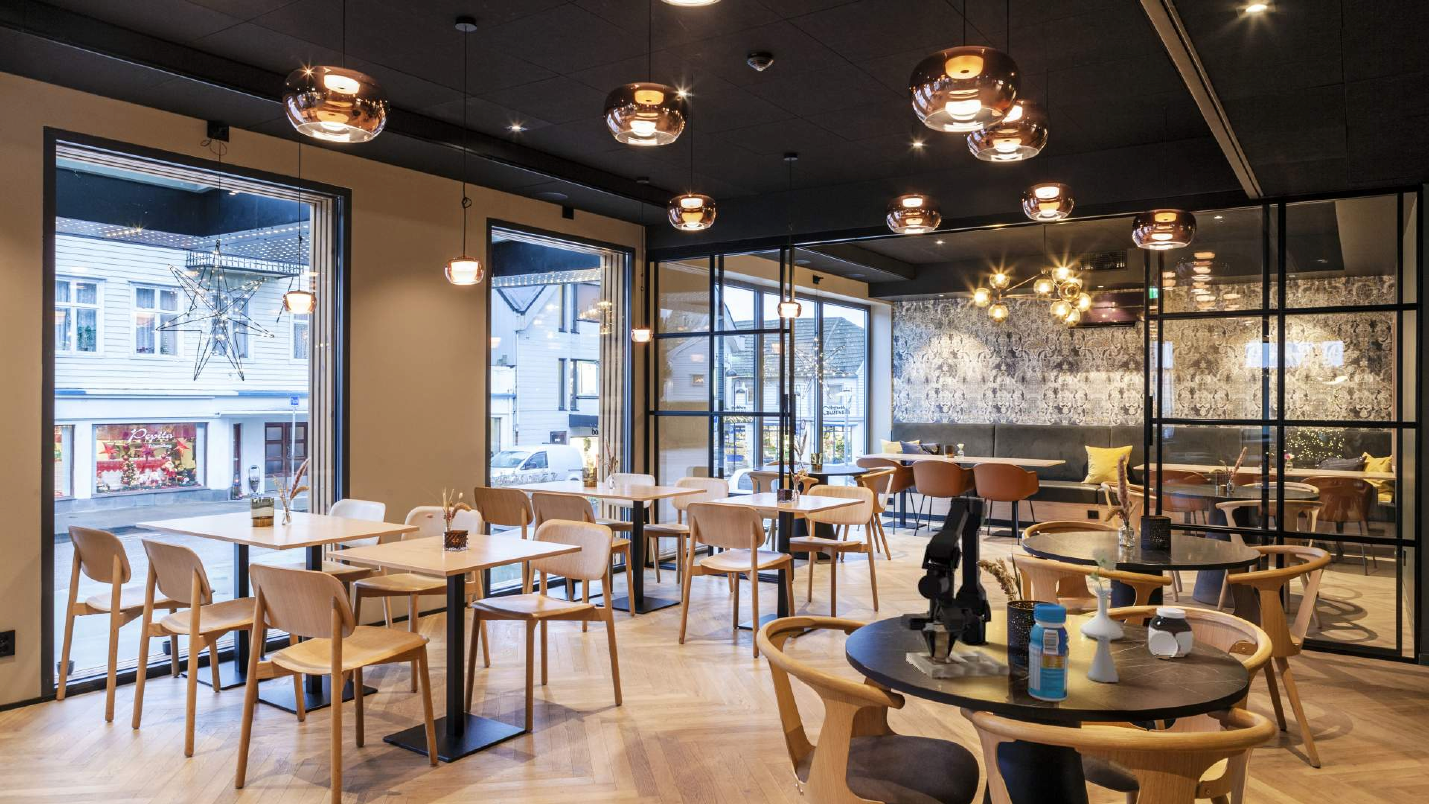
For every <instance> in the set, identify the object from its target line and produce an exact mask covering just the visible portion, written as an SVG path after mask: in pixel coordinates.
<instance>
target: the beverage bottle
mask: <svg viewBox="0 0 1429 804" xmlns="http://www.w3.org/2000/svg"><path fill="white" fill-rule="evenodd" d="M1033 619H1034V621H1035V623H1034V625H1033V626H1032V628H1031V630H1030V632H1029V638H1030V642H1029V644H1028V651H1029V653H1028V657H1029V658H1028V659H1029V660H1028V661H1029V662H1028V687H1027V688H1028V689H1027V692H1028V694H1029V695H1030V696H1031V697H1032V698H1035V699H1037V700H1041V701H1045V702H1062V700H1063V701H1066V699H1067V698H1068V676H1069V675H1068V673H1069V656H1070V648H1069V646H1068V643H1069V641H1070V637H1069V634H1068V631H1067V629H1066V627H1065V626H1064V625H1065V624H1066V621H1067V608H1066V607H1065V606H1064V605H1060V604H1056V603H1046V602H1045V603H1043V602H1042V603H1037V604H1035V605H1034V606H1033Z"/></svg>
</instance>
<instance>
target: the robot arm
mask: <svg viewBox="0 0 1429 804" xmlns="http://www.w3.org/2000/svg"><path fill="white" fill-rule="evenodd" d="M949 504H950V507H949V509H948V512H947V514H946V518H945V520H944V522H943V525H942V527H941V530H940V531H939V532H937V533H935V534H934V535H932V536H931V539H930V541H929V542H928V543H927V544H926V547H925V551H924V555H923V561H922V564H921V569H922V570H926V574H925V575H922V577H920V579H919V580H918V583H917V589H918V592H919V594H920V595H921V596H922V598H925V599H927V600H929V606H928V608H929V609H928V610H927V611H926V616H925V617H924V616H922V615H920V614H918V613H903V615H902V616H901V617H900V625H901V626H902V627H904V628H906V629H907V630H909V631H920V633H921V635H922V637H923V638H924V641H925V645H926V646H927V650H928V652H930V655H931V657H934V655H935V635H936V633H937V631H935V630H936V629H935V626H943V628H944V630H946V631H949V645H948V657H949V656H950V653H951V652H952V651H953V649H954V646H955V644H956V641H959V642H961V643H963V644H964V645H966V646H971V645H972V646H973V645H974V646H975V645H977V646H978V645H979V646H980V645H989V642H988V641H987V639H986V633H987V623H991V622H992V610H991V606H990V602H989V600H988V599H987V591H986V589H985V588H984V586H983V585H982V583H981V568H980V567H981V561H980V559H981V558H980V553H981V552H980V551H981V550H980V530H981V528H982V526H983V524H984V523H985V521H986V517H987V516H988V507H989V506H988V504H987V503H986V502H985V501H984V500H983V499H982V498H976V497H975V498H974V497H973V498H972V497H964V496H955V497H952V498H951V499H950V503H949ZM960 538H961V547H960V544H959V543H960V542H959V541H960ZM978 561H980V562H978ZM960 562H961V575H962V576H961V582H962V583H961V585H960V587H959V589H958V590H957V591H956V594H955V577H956V575H955V572H956V570H958V569H959V566H960ZM976 562H978V563H977V564H976ZM979 564H980V565H979ZM978 565H979V566H978ZM927 616H928V617H927Z"/></svg>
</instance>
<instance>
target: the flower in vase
mask: <svg viewBox="0 0 1429 804" xmlns="http://www.w3.org/2000/svg"><path fill="white" fill-rule="evenodd" d="M1091 550H1092V552H1091V553H1092V556H1091V557H1093V558H1094V561H1095V562H1096V563H1097V565H1098V568H1097V571H1096V574H1095V573H1094V572H1091V574H1090V576H1089V578H1090V579H1092V580H1094V581H1096V582H1098V583H1099V584H1098V585H1099V586H1093V589H1094V591H1095V594H1096V596H1097V597H1096V598H1097V612H1096V614H1095V615H1094V617H1092V618H1090V619H1089V620H1087V621H1085V622H1084V623H1083V624H1081V626H1080V628H1079V630H1080V632H1081V634H1083V635H1085V636H1087V637H1089V638H1093V639H1097V636H1108V637H1110V638H1111V640H1118V639H1120V638H1123V637H1124V635H1125V633H1124V630H1122V628H1121V626H1119V625H1118V624H1117V623H1116V622H1114V620H1113V619H1111V618H1110V616H1109V614H1108V599H1109V596H1110V594H1111V593H1112V591H1113V590H1114V589H1113V588H1111V587H1107V586H1106V587H1105V586H1102V583H1105V582H1106V581H1109V580H1111V578H1112V577H1109V578H1108V579H1105V580H1102V581H1101V580H1100V579H1099V570H1100V568H1102V569H1104V570H1105V571H1108V572H1113V571H1116V570H1117V568H1116V567H1117V563H1116V559H1114V555H1113V554H1111V553H1110V552H1109V551H1107V549H1106V548H1102V547H1101V546H1097V547H1093V549H1091Z"/></svg>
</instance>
